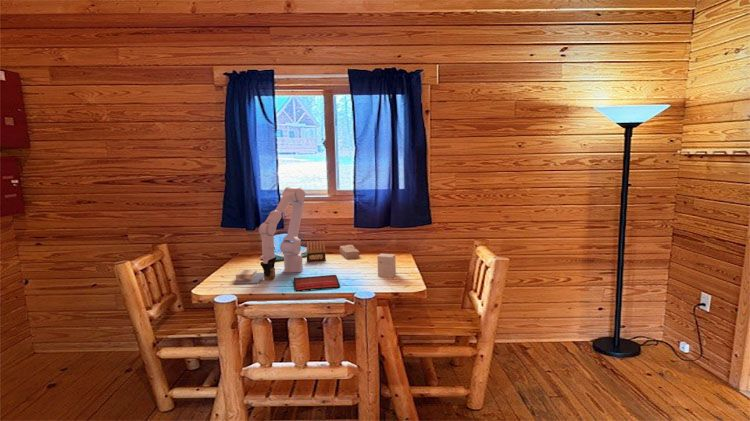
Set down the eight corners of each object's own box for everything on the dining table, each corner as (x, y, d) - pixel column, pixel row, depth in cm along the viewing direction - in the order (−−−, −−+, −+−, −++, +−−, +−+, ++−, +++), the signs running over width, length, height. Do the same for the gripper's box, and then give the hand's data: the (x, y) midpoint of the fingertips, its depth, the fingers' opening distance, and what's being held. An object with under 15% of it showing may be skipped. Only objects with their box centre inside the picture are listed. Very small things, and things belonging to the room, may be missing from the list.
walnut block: (275, 277, 210) (274, 267, 209) (273, 280, 206) (272, 270, 205) (266, 277, 210) (265, 267, 209) (264, 280, 205) (263, 270, 205)
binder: (293, 277, 203) (336, 274, 208) (293, 281, 204) (336, 278, 208) (294, 289, 188) (340, 285, 193) (294, 294, 188) (340, 290, 193)
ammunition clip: (325, 259, 241) (324, 239, 239) (325, 260, 239) (325, 240, 237) (306, 261, 238) (305, 240, 236) (307, 262, 236) (306, 241, 235)
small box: (395, 274, 212) (395, 254, 211) (392, 277, 207) (392, 257, 205) (381, 273, 215) (380, 253, 213) (377, 276, 210) (377, 255, 208)
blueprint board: (266, 273, 215) (266, 267, 215) (258, 284, 200) (258, 276, 199) (243, 274, 215) (242, 267, 215) (233, 284, 199) (233, 277, 199)
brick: (360, 258, 244) (359, 250, 244) (346, 259, 242) (346, 251, 241) (352, 251, 260) (352, 244, 259) (339, 253, 257) (339, 245, 257)
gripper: (263, 243, 212) (264, 269, 214) (256, 250, 198) (257, 278, 200) (277, 243, 212) (278, 269, 214) (271, 250, 198) (272, 278, 200)
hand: (269, 273), depth 207 cm, fingers open, 7 cm apart
